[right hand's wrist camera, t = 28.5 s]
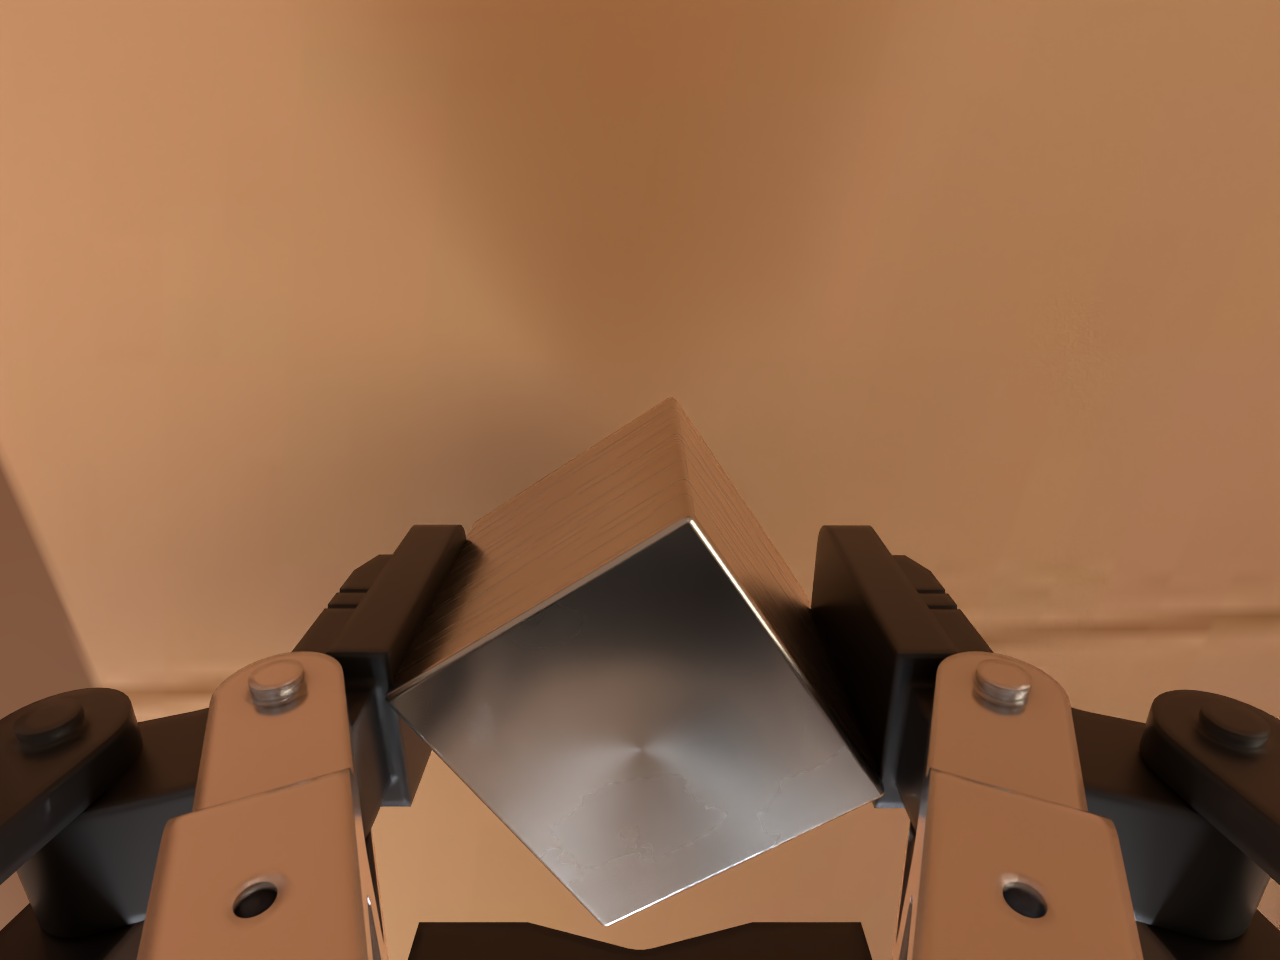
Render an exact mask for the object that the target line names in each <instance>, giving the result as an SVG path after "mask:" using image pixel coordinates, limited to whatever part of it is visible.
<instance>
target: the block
mask: <svg viewBox="0 0 1280 960" xmlns="http://www.w3.org/2000/svg"><path fill="white" fill-rule="evenodd" d="M385 700H386V702H387V704H388V705H389V706H390V707H391V708H392V709H393V710H394V711H395V712H396V713H397V714H398V715H399V716H400V717H401V718H402V719H403V720H404V721H405V722H406V723H407V724H408V725H409V726H410V727H411V728H412V729H413V730H414V731H415V733H416V734H417V735H418V736H419V737H420V738H421V739H422V740H423V741H424V742H425V743H426V744H427V745H428V746H429V747H430V748H431V749H432V750H433V751H434V752H435V753H436V754H437V755H438V756H439V757H440V758H441V759H442V760H443V761H444V762H445V763H446V764H447V766H448V767H449V768H450V769H451V770H452V771H453V772H454V773H455V774H456V775H457V776H458V777H459V778H460V779H461V780H462V781H463V782H464V783H465V784H466V785H467V786H468V787H469V788H470V789H471V790H472V791H473V792H474V793H475V794H476V795H477V796H478V797H479V799H480V800H481V801H482V802H483V803H484V804H485V805H486V806H487V807H488V808H489V809H490V810H491V811H492V812H493V813H494V814H495V815H496V816H497V817H498V818H499V819H500V820H501V821H502V822H503V823H504V824H505V825H506V826H507V827H508V828H509V829H510V831H511V832H512V833H513V834H514V835H515V836H516V837H517V838H518V839H519V840H520V841H521V842H522V843H523V844H524V845H525V846H526V847H527V848H528V849H529V850H530V851H531V852H532V853H533V854H534V855H535V856H536V857H537V858H538V859H539V860H540V861H541V862H542V864H543V865H544V866H545V867H546V868H547V869H548V870H549V871H550V872H551V873H552V874H553V875H554V876H555V877H556V878H557V879H558V880H559V881H560V882H561V883H562V884H563V885H564V886H565V887H566V888H567V889H568V890H569V891H570V892H571V893H572V894H573V896H574V897H575V898H576V899H577V900H578V901H579V902H580V903H581V904H582V905H583V906H584V907H585V908H586V909H587V910H588V911H589V912H590V913H591V914H592V915H593V916H594V917H595V918H596V919H597V920H598V921H599V922H600V923H601V924H602V925H604V926H610V925H612V924H614V923H616V922H618V921H620V920H622V919H625V918H627V917H629V916H631V915H633V914H635V913H637V912H639V911H641V910H644V909H646V908H648V907H650V906H652V905H654V904H656V903H658V902H660V901H663V900H665V899H667V898H669V897H671V896H673V895H675V894H677V893H679V892H682V891H684V890H686V889H688V888H690V887H692V886H694V885H696V884H698V883H701V882H703V881H705V880H707V879H709V878H711V877H713V876H715V875H717V874H719V873H722V872H724V871H726V870H728V869H730V868H732V867H734V866H736V865H738V864H741V863H743V862H745V861H747V860H749V859H751V858H753V857H755V856H757V855H760V854H762V853H764V852H766V851H768V850H770V849H772V848H774V847H776V846H779V845H781V844H783V843H785V842H787V841H789V840H791V839H793V838H795V837H798V836H800V835H802V834H804V833H806V832H808V831H810V830H812V829H814V828H817V827H819V826H821V825H823V824H825V823H827V822H829V821H831V820H833V819H836V818H838V817H840V816H842V815H844V814H846V813H848V812H850V811H852V810H855V809H857V808H859V807H861V806H863V805H865V804H867V803H869V802H871V801H873V800H876V799H878V798H880V797H882V796H883V795H884V794H885V789H884V784H883V782H882V779H881V777H880V776H879V773H878V771H877V768H876V766H875V764H874V761H873V759H872V756H871V754H870V751H869V749H868V747H867V744H866V742H865V739H864V737H863V734H862V732H861V729H860V727H859V725H858V722H857V720H856V717H855V715H854V712H853V710H852V708H851V705H850V703H849V700H848V698H847V695H846V693H845V691H844V688H843V686H842V683H841V681H840V678H839V676H838V673H837V671H836V669H835V666H834V664H833V661H832V659H831V656H830V654H829V652H828V649H827V647H826V644H825V642H824V639H823V637H822V634H821V632H820V630H819V627H818V625H817V622H816V620H815V617H814V615H813V613H812V610H811V606H810V604H809V602H808V599H807V597H806V594H805V592H804V590H803V589H802V587H801V586H800V584H799V583H798V581H797V580H796V578H795V577H794V575H793V574H792V572H791V571H790V569H789V568H788V566H787V565H786V563H785V562H784V560H783V559H782V557H781V556H780V554H779V553H778V551H777V550H776V548H775V547H774V545H773V544H772V542H771V541H770V539H769V538H768V536H767V535H766V533H765V532H764V530H763V529H762V527H761V526H760V524H759V523H758V521H757V520H756V518H755V517H754V515H753V514H752V512H751V511H750V510H749V508H748V507H747V505H746V504H745V502H744V501H743V499H742V498H741V496H740V495H739V493H738V492H737V490H736V489H735V487H734V486H733V484H732V483H731V481H730V480H729V478H728V477H727V475H726V474H725V472H724V471H723V469H722V468H721V466H720V465H719V463H718V462H717V460H716V459H715V457H714V456H713V454H712V453H711V451H710V450H709V448H708V447H707V445H706V444H705V442H704V441H703V439H702V438H701V436H700V435H699V433H698V432H697V430H696V429H695V427H694V426H693V424H692V423H691V421H690V420H689V418H688V417H687V415H686V414H685V412H684V411H683V409H682V408H681V406H680V405H679V403H678V402H677V400H676V399H674V398H673V397H672V398H668V399H666V400H665V401H663V402H661V403H660V404H658V405H657V406H655V407H654V408H652V409H651V410H649V411H647V412H646V413H644V414H643V415H641V416H640V417H638V418H637V419H635V420H633V421H632V422H630V423H629V424H627V425H626V426H624V427H623V428H621V429H619V430H618V431H616V432H615V433H613V434H612V435H610V436H609V437H607V438H605V439H604V440H602V441H601V442H599V443H598V444H596V445H595V446H593V447H591V448H590V449H588V450H587V451H585V452H584V453H582V454H581V455H579V456H577V457H576V458H574V459H573V460H571V461H570V462H568V463H567V464H565V465H563V466H562V467H560V468H559V469H557V470H556V471H554V472H553V473H551V474H549V475H548V476H546V477H545V478H543V479H542V480H540V481H539V482H537V483H535V484H534V485H532V486H531V487H529V488H528V489H526V490H525V491H523V492H521V493H520V494H518V495H517V496H515V497H514V498H512V499H511V500H509V501H507V502H506V503H504V504H503V505H501V506H500V507H498V508H497V509H495V510H493V511H492V512H490V513H489V514H487V515H486V516H484V517H483V518H481V519H479V520H478V521H476V522H475V523H474V525H473V527H472V529H471V531H470V533H469V535H468V537H467V538H466V541H465V543H464V545H463V547H462V549H461V551H460V553H459V555H458V556H457V558H456V560H455V562H454V564H453V566H452V568H451V570H450V572H449V574H448V576H447V578H446V580H445V582H444V584H443V586H442V588H441V589H440V591H439V593H438V595H437V597H436V599H435V601H434V603H433V605H432V607H431V609H430V611H429V613H428V615H427V617H426V619H425V621H424V623H423V624H422V626H421V628H420V630H419V632H418V634H417V636H416V638H415V640H414V642H413V644H412V646H411V648H410V650H409V652H408V654H407V656H406V658H405V660H404V662H403V663H402V665H401V667H400V669H399V671H398V673H397V675H396V677H395V679H394V681H393V683H392V684H391V686H390V688H389V689H388V691H387V693H386V695H385Z"/></svg>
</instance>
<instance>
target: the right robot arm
mask: <svg viewBox="0 0 1280 960" xmlns="http://www.w3.org/2000/svg"><path fill="white" fill-rule="evenodd" d="M465 541H466V535H465V531H464V528H463V527H462V526H461V525H414V526H412V528H411V529H410V530H409V532H408V533H407V535H406V536H405V538H404V539H403V540H402V542H401V543H400V545H399V546H398V548H397V549H396V551H395V552H394V554H393V555H378V556H376V557H375V558H373V559H372V560H370V561H368V562H367V563H365V564H364V565H362V566H360V567H359V568H357V569H356V570H354V571H353V572H352V574H351V575H350V576H349V578H348V579H347V580H346V582H345V583H344V584H343V585H342V587H341V588H340V593H336V595H335V596H334V597H333V599H332V600H331V601H330V602H329V604H328V608H325V609H324V610H323V612H322V613H321V614H320V616H319V617H318V618H317V619H316V621H315V622H314V623H313V625H312V626H311V627H310V629H309V630H308V631H307V633H306V634H305V635H304V636H303V638H302V639H301V640H300V642H299V643H298V644H297V646H296V647H295V648H294V650H293V651H292V652H289V653H284V654H279V655H275V656H271V657H267V658H265V659H262V660H259V661H256V662H254V663H252V664H250V665H247V666H246V667H244V668H242V669H240V670H238V671H237V672H235V673H234V674H232V675H231V676H229V677H228V678H227V679H226V680H225V681H224V682H222V683H221V685H220V686H219V687H218V688H217V689H216V691H215V692H214V694H213V695H212V698H211V701H210V706H209V708H206V709H202V710H198V711H193V712H188V713H183V714H178V715H173V716H168V717H163V718H158V719H153V720H148V721H143V722H138V723H137V720H136V717H135V713H134V710H133V707H132V704H131V701H130V699H129V697H128V696H127V695H125V694H124V693H123V692H120V691H118V690H114V689H110V688H86V689H79V690H73V691H69V692H64V693H61V694H57V695H54V696H50V697H47V698H45V699H42V700H39V701H36V702H34V703H32V704H29V705H27V706H25V707H23V708H21V709H19V710H17V711H15V712H13V713H11V714H9V715H8V716H6V717H4V718H3V719H1V720H0V885H1V884H2V883H3V882H4V881H5V880H6V879H8V878H9V877H10V876H11V875H12V874H13V873H14V872H15V871H17V874H18V876H19V878H20V881H21V883H22V885H23V888H24V890H25V892H26V895H27V897H28V899H29V902H30V903H29V904H28V905H27V906H26V907H25V908H24V909H23V910H22V911H21V912H20V913H19V914H18V915H17V916H16V917H15V918H13V919H12V920H11V921H10V922H9V923H8V924H7V925H6V926H5V927H4V928H3V929H2V930H1V931H0V960H388V952H387V944H386V936H385V928H384V919H383V911H382V903H381V895H380V887H379V879H378V871H377V863H376V855H375V847H374V841H373V836H372V830H371V828H372V825H373V823H374V821H375V818H376V816H377V814H378V811H379V809H380V807H381V806H411V804H412V801H413V799H414V796H415V793H416V791H417V788H418V786H419V783H420V780H421V778H422V775H423V772H424V770H425V767H426V764H427V762H428V759H429V756H430V754H431V751H432V749H431V748H430V747H429V746H428V745H427V744H426V743H425V742H424V741H423V740H422V739H421V738H420V737H419V736H418V735H417V734H416V733H415V731H414V730H413V729H412V728H411V727H410V726H409V725H408V724H407V723H406V722H405V721H404V720H403V719H402V718H401V717H400V716H399V715H398V714H397V713H396V712H395V711H394V710H393V709H392V708H391V707H390V706H389V705H388V704H387V702H386V700H385V695H386V693H387V691H388V689H389V688H390V686H391V684H392V683H393V681H394V679H395V677H396V675H397V673H398V671H399V669H400V667H401V665H402V663H403V662H404V660H405V658H406V656H407V654H408V652H409V650H410V648H411V646H412V644H413V642H414V640H415V638H416V636H417V634H418V632H419V630H420V628H421V626H422V624H423V623H424V621H425V619H426V617H427V615H428V613H429V611H430V609H431V607H432V605H433V603H434V601H435V599H436V597H437V595H438V593H439V591H440V589H441V588H442V586H443V584H444V582H445V580H446V578H447V576H448V574H449V572H450V570H451V568H452V566H453V564H454V562H455V560H456V558H457V556H458V555H459V553H460V551H461V549H462V547H463V545H464V543H465ZM811 610H812V613H813V615H814V617H815V620H816V622H817V625H818V627H819V630H820V632H821V634H822V637H823V639H824V642H825V644H826V647H827V649H828V652H829V654H830V656H831V659H832V661H833V664H834V666H835V669H836V671H837V673H838V676H839V678H840V681H841V683H842V686H843V688H844V691H845V693H846V695H847V698H848V700H849V703H850V705H851V708H852V710H853V712H854V715H855V717H856V720H857V722H858V725H859V727H860V729H861V732H862V734H863V737H864V739H865V742H866V744H867V747H868V749H869V751H870V754H871V756H872V759H873V761H874V764H875V766H876V768H877V771H878V773H879V776H880V777H881V779H882V782H883V784H884V789H885V794H884V795H883V796H882V797H880V798H878V799H876V800H873V801H872V803H873V805H874V808H905V809H906V811H907V814H908V816H909V818H910V825H909V830H908V836H907V841H906V847H905V856H904V864H903V872H902V880H901V888H900V896H899V904H898V912H897V920H896V928H895V936H894V944H893V952H892V960H1280V931H1279V930H1278V929H1277V928H1276V927H1275V926H1274V925H1273V924H1272V923H1271V922H1270V921H1269V920H1268V919H1267V918H1265V917H1264V916H1263V915H1262V914H1261V913H1260V912H1259V911H1258V910H1257V907H1258V904H1259V902H1260V900H1261V897H1262V895H1263V893H1264V890H1265V888H1266V886H1267V884H1268V881H1269V879H1270V877H1271V878H1272V879H1274V880H1275V881H1276V882H1277V883H1278V884H1279V885H1280V720H1279V719H1277V718H1275V717H1274V716H1272V715H1270V714H1268V713H1266V712H1264V711H1262V710H1260V709H1258V708H1256V707H1253V706H1251V705H1249V704H1246V703H1244V702H1241V701H1238V700H1235V699H1232V698H1229V697H1226V696H1222V695H1218V694H1214V693H1209V692H1203V691H1196V690H1174V691H1169V692H1165V693H1163V694H1160V695H1159V696H1158V697H1156V698H1155V699H1154V701H1153V703H1152V706H1151V709H1150V712H1149V715H1148V718H1147V721H1146V723H1141V722H1136V721H1131V720H1126V719H1121V718H1116V717H1111V716H1106V715H1101V714H1096V713H1091V712H1086V711H1082V710H1078V709H1074V708H1071V706H1070V701H1069V698H1068V695H1067V694H1066V692H1065V690H1064V689H1063V688H1062V687H1061V686H1060V684H1059V683H1058V682H1057V681H1055V680H1054V679H1053V678H1052V677H1051V676H1049V675H1048V674H1046V673H1045V672H1043V671H1042V670H1040V669H1038V668H1036V667H1034V666H1033V665H1030V664H1028V663H1026V662H1024V661H1021V660H1018V659H1015V658H1013V657H1009V656H1005V655H1001V654H996V653H993V651H992V650H991V649H990V647H989V646H988V645H987V643H986V642H985V641H984V640H983V638H982V637H981V636H980V634H979V633H978V632H977V631H976V629H975V628H974V627H973V625H972V624H971V623H970V622H969V620H968V619H967V618H966V616H965V615H964V614H963V612H962V611H961V610H960V609H957V605H956V603H955V602H954V601H953V600H952V598H951V597H950V596H949V594H945V589H944V588H943V587H942V585H941V584H940V583H939V581H938V580H937V579H936V578H935V576H934V575H933V574H932V572H931V571H929V570H928V569H926V568H925V567H923V566H921V565H920V564H918V563H916V562H915V561H913V560H912V559H910V558H908V557H907V556H905V555H891V553H890V552H889V551H888V549H887V548H886V546H885V545H884V543H883V542H882V541H881V539H880V538H879V536H878V535H877V533H876V532H875V531H874V529H873V528H872V527H871V526H830V525H824V526H822V527H821V529H820V532H819V536H818V542H817V552H816V562H815V572H814V582H813V592H812V602H811ZM408 960H872V957H871V954H870V951H869V948H868V944H867V941H866V938H865V934H864V931H863V928H862V925H861V922H752V923H748V924H744V925H740V926H737V927H733V928H729V929H725V930H721V931H717V932H713V933H710V934H706V935H702V936H698V937H694V938H690V939H687V940H683V941H679V942H675V943H671V944H667V945H664V946H660V947H656V948H652V949H646V950H634V949H628V948H624V947H620V946H616V945H613V944H609V943H605V942H601V941H597V940H593V939H590V938H586V937H582V936H578V935H574V934H570V933H567V932H563V931H559V930H555V929H551V928H547V927H543V926H540V925H536V924H532V923H528V922H419V925H418V928H417V931H416V934H415V938H414V941H413V944H412V948H411V951H410V954H409V957H408Z"/></svg>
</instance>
